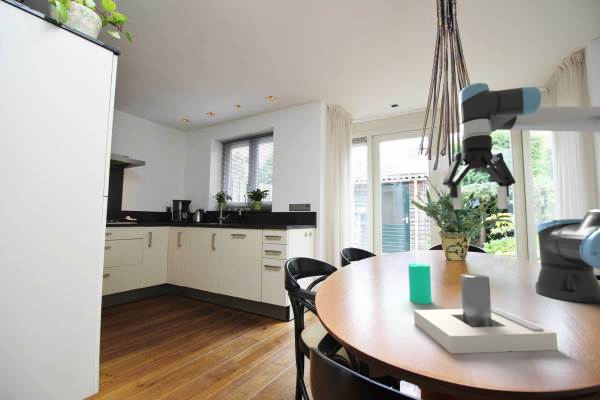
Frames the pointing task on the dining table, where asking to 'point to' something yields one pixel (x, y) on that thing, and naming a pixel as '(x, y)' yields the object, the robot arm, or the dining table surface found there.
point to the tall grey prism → (476, 300)
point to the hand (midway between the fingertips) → (480, 209)
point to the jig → (484, 332)
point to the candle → (420, 283)
